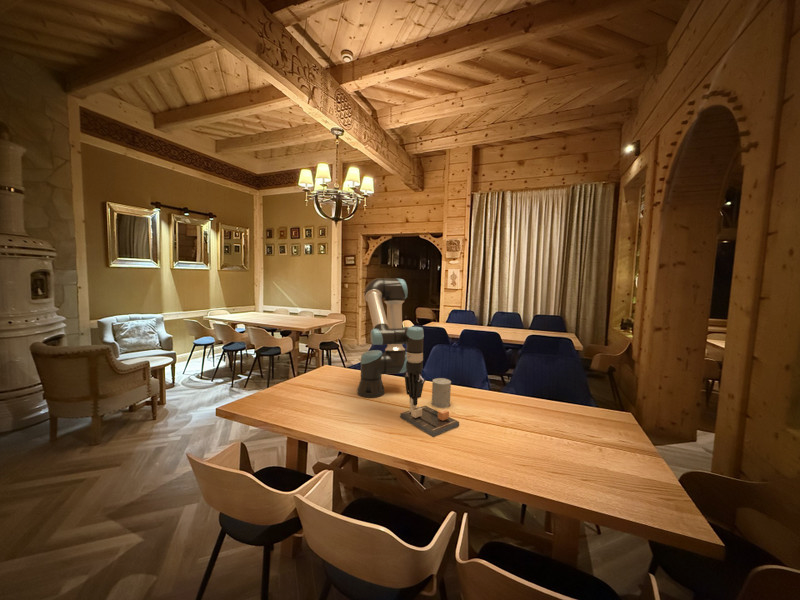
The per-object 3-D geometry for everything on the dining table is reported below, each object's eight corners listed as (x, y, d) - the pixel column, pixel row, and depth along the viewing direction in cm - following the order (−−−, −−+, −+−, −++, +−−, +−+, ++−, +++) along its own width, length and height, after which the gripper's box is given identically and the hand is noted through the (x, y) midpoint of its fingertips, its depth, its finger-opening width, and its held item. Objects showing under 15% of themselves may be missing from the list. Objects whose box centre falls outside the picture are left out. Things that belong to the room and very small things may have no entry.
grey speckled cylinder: (449, 401, 171) (450, 378, 170) (450, 408, 162) (451, 384, 161) (431, 400, 172) (432, 377, 171) (431, 407, 162) (432, 383, 161)
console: (400, 417, 150) (400, 413, 150) (425, 409, 160) (425, 405, 160) (433, 436, 133) (433, 432, 133) (459, 426, 143) (459, 421, 143)
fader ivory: (411, 415, 147) (411, 408, 146) (417, 413, 149) (417, 406, 149) (415, 417, 144) (415, 410, 144) (422, 415, 147) (422, 408, 147)
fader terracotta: (437, 418, 145) (437, 410, 144) (443, 415, 147) (444, 408, 147) (442, 420, 142) (442, 413, 142) (448, 418, 145) (449, 410, 145)
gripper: (399, 359, 149) (398, 408, 151) (417, 365, 139) (416, 418, 141) (411, 356, 154) (410, 404, 156) (430, 362, 144) (428, 414, 146)
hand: (413, 411), depth 148 cm, fingers closed
